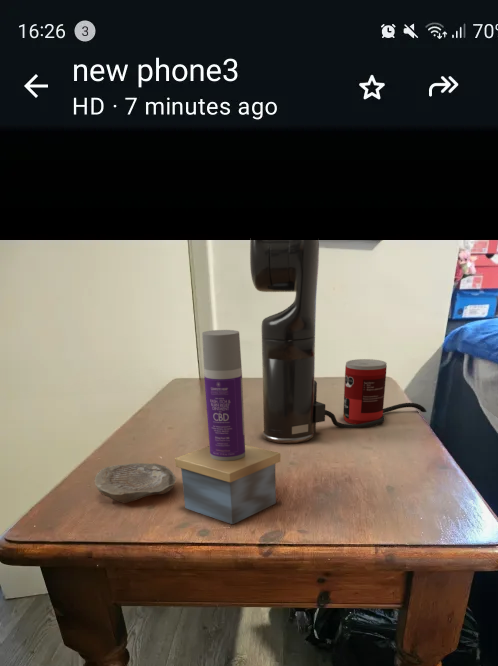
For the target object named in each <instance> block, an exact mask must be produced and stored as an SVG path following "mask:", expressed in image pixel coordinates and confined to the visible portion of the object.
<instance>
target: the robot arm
mask: <svg viewBox="0 0 498 666" xmlns="http://www.w3.org/2000/svg"><path fill="white" fill-rule="evenodd" d="M319 242H320V241H319V239H318V240H251V239H250V243H249V245H250V246H249V267H250V269H249V270H250V276H251V277H250V278H251V282H252V284H253V286H254V288H255V289H256V290H257V291H259V292H261V293H295V297H294V301H293V302H292V303H291V304H290V305H289V306H287V307H286V308H284V309H283V310H281V311H279V312H277V313H275V314H272V315H269V316H267V317H264V318H263V320H262V321H261V326H260V327H261V328H260V330H261V331H260V332H261V366H262V368H261V369H262V405H263V406H262V407H263V408H262V411H263V414H262V415H263V432H262V433H263V435H262V436H263V438H264V439H265V440H266V441H269V442H273V443H277V444H296V443H303V442H307V441H309V440H311V439H313V438H314V435H315V434H316V433H317V424H318V423H323V422H326V416H327V418H328V417H329V418H330V420H331V423H332V424H333V426H335V427H336V428H340V429H365V428H370V427H375V426H377V425H381V424H383V423H384V421H385V415H384V414H386V413H389V412H392V411H393V412H394V411H395V410H400V409H404V408H413V409H416V410H418V411H420V412H422V413H427V412H428V410H427V409H426V408H425V407H424V406H423V405H421V404H419V403H416V402H403V403H397V404H395V405H391V406H388V407H383V416H382V417H381V418H380V419H379V420H375V421H371V422H367V423H362V424H351V423H342V422H340V421H338V420H337V417H336V416H335V414H334V413H333V412H331V411H330V410H327V409H326V403H322V402H320V401H317V397H318V396H317V394H318V390H317V389H318V383H317V381H316V380H315V371H316V369H315V368H316V367H315V366H316V364H315V363H316V362H315V361H316V356H315V355H316V320H317V319H316V318H317V292H318V291H317V290H318V278H319V265H320V243H319Z"/></svg>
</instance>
